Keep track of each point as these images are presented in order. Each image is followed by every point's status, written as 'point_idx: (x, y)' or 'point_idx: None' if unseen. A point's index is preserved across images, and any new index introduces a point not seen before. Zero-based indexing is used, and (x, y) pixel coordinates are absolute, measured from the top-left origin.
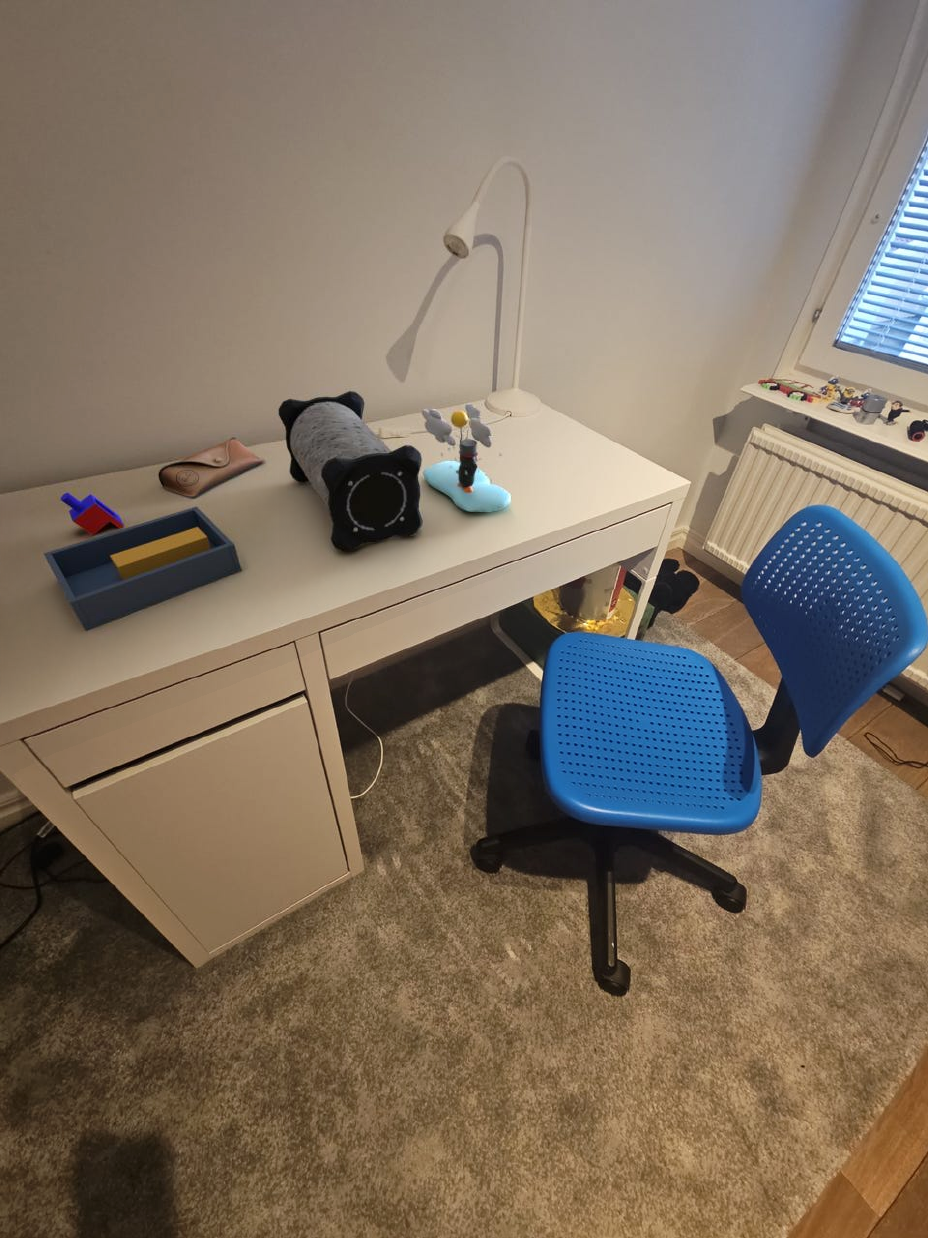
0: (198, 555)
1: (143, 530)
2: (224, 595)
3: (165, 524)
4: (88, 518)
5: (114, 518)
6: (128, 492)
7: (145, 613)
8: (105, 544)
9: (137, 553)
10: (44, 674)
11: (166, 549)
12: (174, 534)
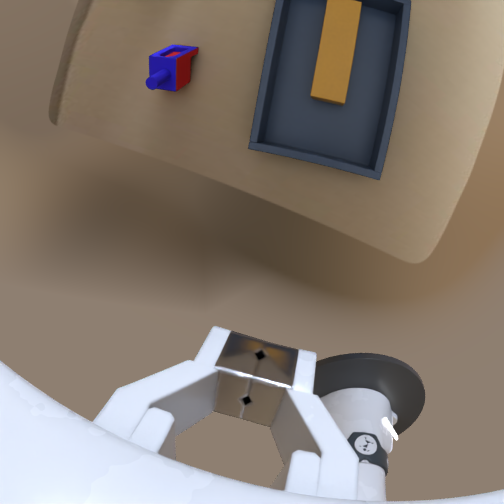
0: (404, 36)
1: (277, 38)
2: (429, 54)
3: (282, 14)
4: (180, 74)
5: (192, 50)
6: (128, 23)
7: (394, 120)
8: (269, 84)
9: (333, 72)
10: (398, 229)
11: (352, 45)
12: (324, 20)
